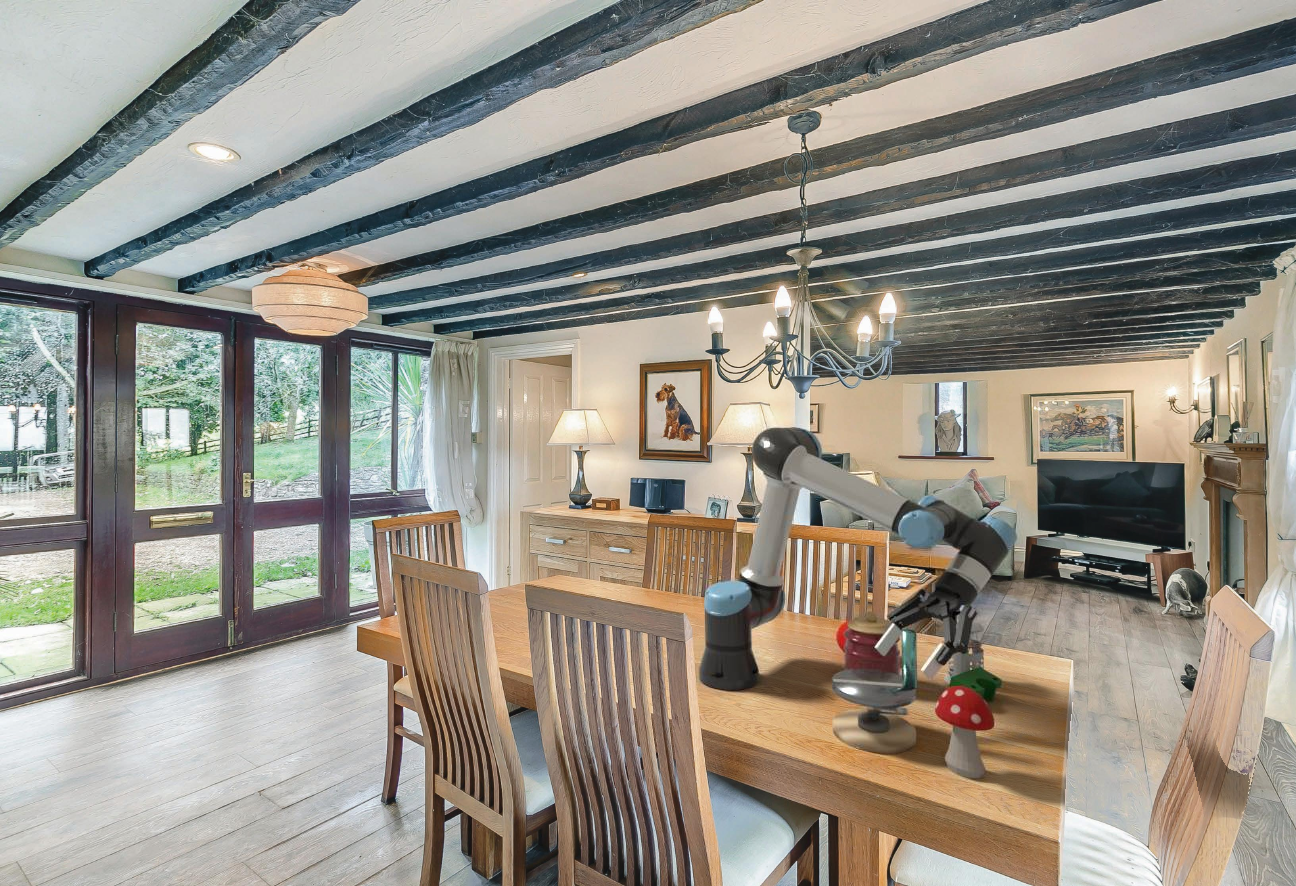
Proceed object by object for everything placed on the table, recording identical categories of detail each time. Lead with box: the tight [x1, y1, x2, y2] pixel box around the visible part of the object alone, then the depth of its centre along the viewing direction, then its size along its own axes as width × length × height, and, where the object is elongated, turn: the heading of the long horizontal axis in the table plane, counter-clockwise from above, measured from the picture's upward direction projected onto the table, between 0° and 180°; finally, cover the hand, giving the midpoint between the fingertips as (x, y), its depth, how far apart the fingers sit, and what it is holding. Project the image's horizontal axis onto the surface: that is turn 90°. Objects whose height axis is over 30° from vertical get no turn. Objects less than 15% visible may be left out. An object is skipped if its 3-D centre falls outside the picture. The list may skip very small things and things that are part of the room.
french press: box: [943, 618, 985, 684], centre depth 152 cm, size 10×12×25 cm
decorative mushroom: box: [934, 686, 995, 780], centre depth 111 cm, size 10×9×15 cm
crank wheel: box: [831, 628, 918, 720], centre depth 125 cm, size 16×16×18 cm
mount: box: [832, 708, 917, 755], centre depth 126 cm, size 16×16×3 cm
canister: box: [844, 611, 901, 676], centre depth 151 cm, size 13×13×18 cm
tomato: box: [835, 616, 856, 654], centre depth 169 cm, size 13×12×11 cm
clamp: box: [948, 666, 1003, 702], centre depth 141 cm, size 12×6×9 cm, turn 115°
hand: (901, 662), depth 123 cm, fingers open, 13 cm apart
